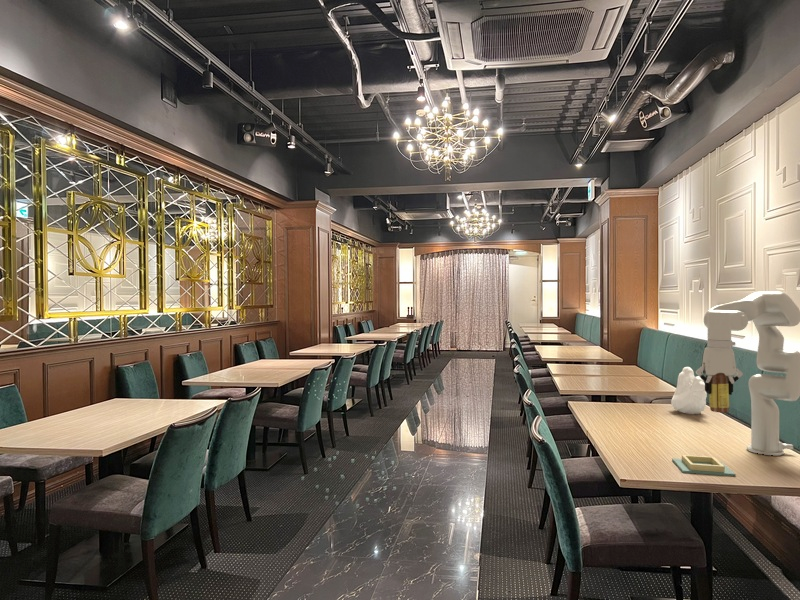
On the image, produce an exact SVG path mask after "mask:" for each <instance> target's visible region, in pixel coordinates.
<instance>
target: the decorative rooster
mask: <svg viewBox="0 0 800 600" xmlns="http://www.w3.org/2000/svg"><path fill="white" fill-rule="evenodd" d="M676 383H677V384H676V388H675V391H674V392H673V393H674V394H673V396H672V398H671V400H670V402H671V407H672V408H673V409H674V410H676V411H678V412H680V413H683V414H687V415H699V414H701V413H702V412H703V411H705V408H706V404H707V400H706V399H707V397H708V393H706V391H705V382H704V381H703V380H702V379H701V378H700V377H699V376H698V375H697V376H695V373H694V370H693V368H691V367H690V366H685V367H683V368H682V371H681V372H679V374H678V375H677V382H676Z"/></svg>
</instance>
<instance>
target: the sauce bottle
mask: <svg viewBox="0 0 800 600" xmlns="http://www.w3.org/2000/svg"><path fill="white" fill-rule="evenodd" d="M710 383H711V394H708V395H709V397H708V398H709V400H708V401H709V410H710V411H711V412H714V413H723V414H724V413H725V414H726V413H729V412H730V395H729V383H728V376H726V375H725V374H724V373H717V374H716V375H713V376H712V378H711V380H710Z"/></svg>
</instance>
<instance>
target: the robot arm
mask: <svg viewBox="0 0 800 600" xmlns="http://www.w3.org/2000/svg"><path fill="white" fill-rule="evenodd" d="M749 321H752V323H753V324H754V327H755V328H756V331H757V334H758V345H757V352H756V353H757V354H756V367H757V369H759V370H761V371H763V372H770V373H780V374H786V375H785V376H784V375H777V374H776V375H775V374H768V373H767V374H766V373H757V374H753V375H752V376H750V378H749V379H748V389H749V394H750V400H751V401H750V403H751V409H750V412H751V414H750V415H751V416H750V417H751V421H750V422H751V423H750V424H751V425H750V426H751V428H750V429H751V431H750V432H751V434H750V435H751V437H750V438H751V439H750V444H749V445H747V446H746V450H747V451H748V452H751V453H754V454H757V453H758V454H759V455H762V454H764V456H771V455H773V456H775V457H777V456H783V455H784V453H785V452H784V451H785V449H786V450H794V445H793V444H792V443H791V444H789V443H785V442H784V443H782V441H780V409H779V406H778V404H777V403H776V401H775V400H779V401H785V402H796V401H797V400H798V399H799V398H800V352H799V351H798V350H794V349H784V344H785V337H784V335H783V334H782V332H781V331H780V330H779V328H777V327H795V326H798V325H799V324H800V308H799V307H798V305H797V304H796V303H795V302H794V300H793V299H792V298H791V297H790V296H789V295H788V294H786V293H785V292H782V291H755V292H753V293H750V294H749V295H747V296H746V297H744V298H741V299H740V300H737V301H736V300H735V301H731V302H728V303H723V304H718V305H715V306H713V307H711V308H710V309H708V310H707V311H706V312H705V314H704V316H703V324H704V326H705V328H707V340H706V341H707V347H704V348H703V349H704V350H703V355H702V361H701V362H702V364H701V366H700V367H698V369H696V370H695V373H694V374H696V375H697V376H699V377H700V378H701V379H702V380H703V381H704V383H705V391H706V393H707V395H709V394H711V383H710V380H711V378H712V376H713V375H716V374H717V373H724V374H725V375H726V376H728V383H729V396H731V395H733V393H734V384H735V382H737V381H738V380H739V378H741V377H742V376H743V375H744V373H743V372H742V371H741V370H740V369H739V368H738V367H737V366H736V365H737V364H736V358H735V352H734V349H733V348H732V347H733V346H736V342H735V341H732V340H733V339H732V332H733V331H737V332H738V331H739V332H740V331H743V330H745V329H746V328H747V326H748V323H749ZM758 454H757V455H758Z"/></svg>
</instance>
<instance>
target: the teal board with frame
mask: <svg viewBox="0 0 800 600" xmlns="http://www.w3.org/2000/svg"><path fill="white" fill-rule="evenodd" d="M671 459H672V462H673V463H674V465H676V467H677V468H678V469H679V470H680V471H681V473H682V474H694V473H696V475H713V476H722V475H724V477H736V475H737V474H736V473H735V472H734V471H733V470H732V469H730V468H729V467H728V466H727V465H726V464H725V463H723V462H722V461H719V460H718V459H717V458H716V457H714V456H705V455H704V456H703V455H688V454H687V455H686V454H682V455H681V458H671Z"/></svg>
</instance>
